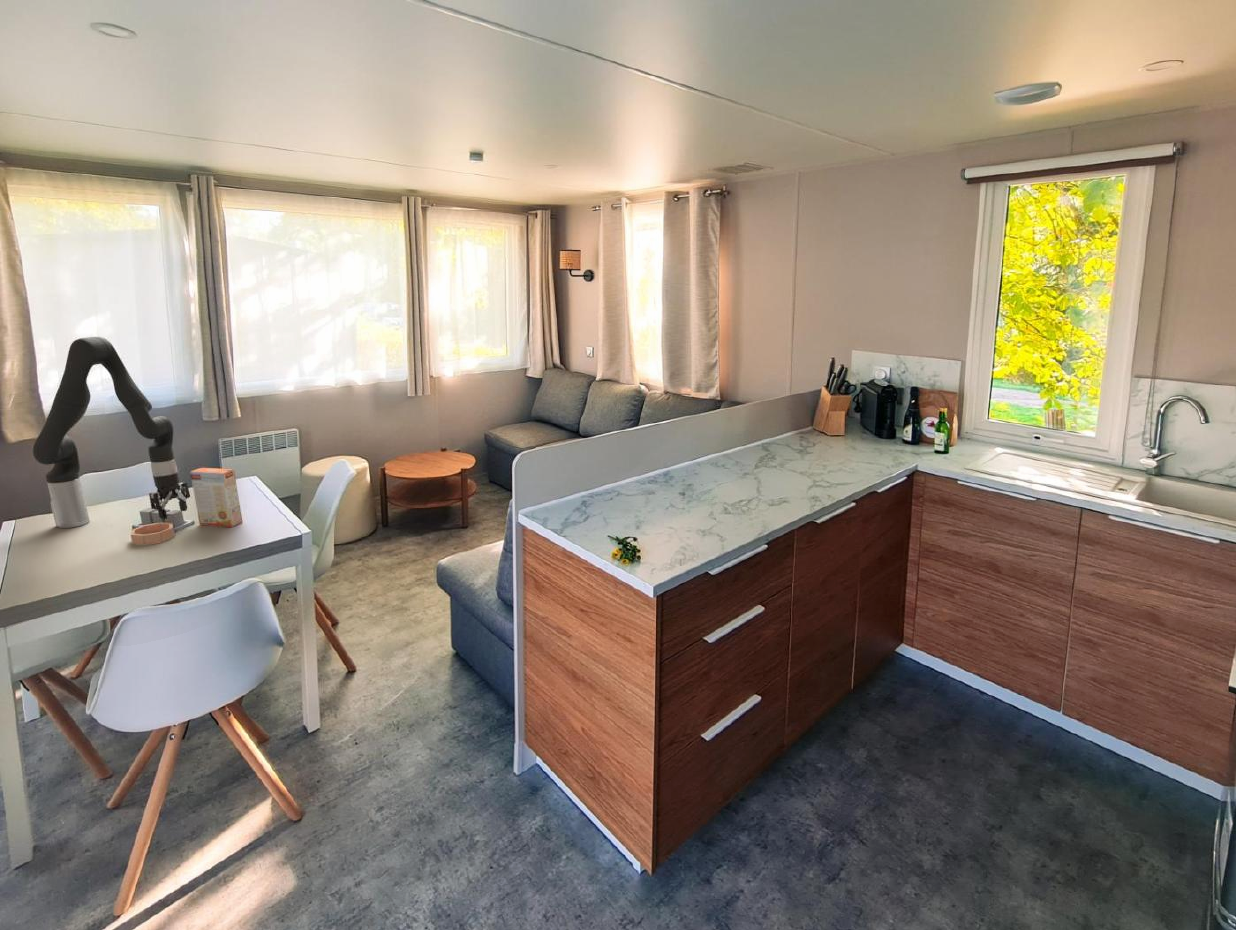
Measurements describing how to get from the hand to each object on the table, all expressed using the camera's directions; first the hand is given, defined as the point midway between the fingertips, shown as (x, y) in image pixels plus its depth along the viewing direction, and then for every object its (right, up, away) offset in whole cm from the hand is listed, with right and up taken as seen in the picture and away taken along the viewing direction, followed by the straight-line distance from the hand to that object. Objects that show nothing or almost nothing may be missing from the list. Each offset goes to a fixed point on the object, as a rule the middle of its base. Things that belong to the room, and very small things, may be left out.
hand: (174, 514), depth 239 cm
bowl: (-1, -8, -9) cm, 12 cm away
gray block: (-11, -4, +3) cm, 12 cm away
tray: (-5, -4, +2) cm, 7 cm away
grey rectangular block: (0, -4, +1) cm, 5 cm away
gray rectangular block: (-5, -4, +2) cm, 7 cm away
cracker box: (+14, -4, +5) cm, 16 cm away
